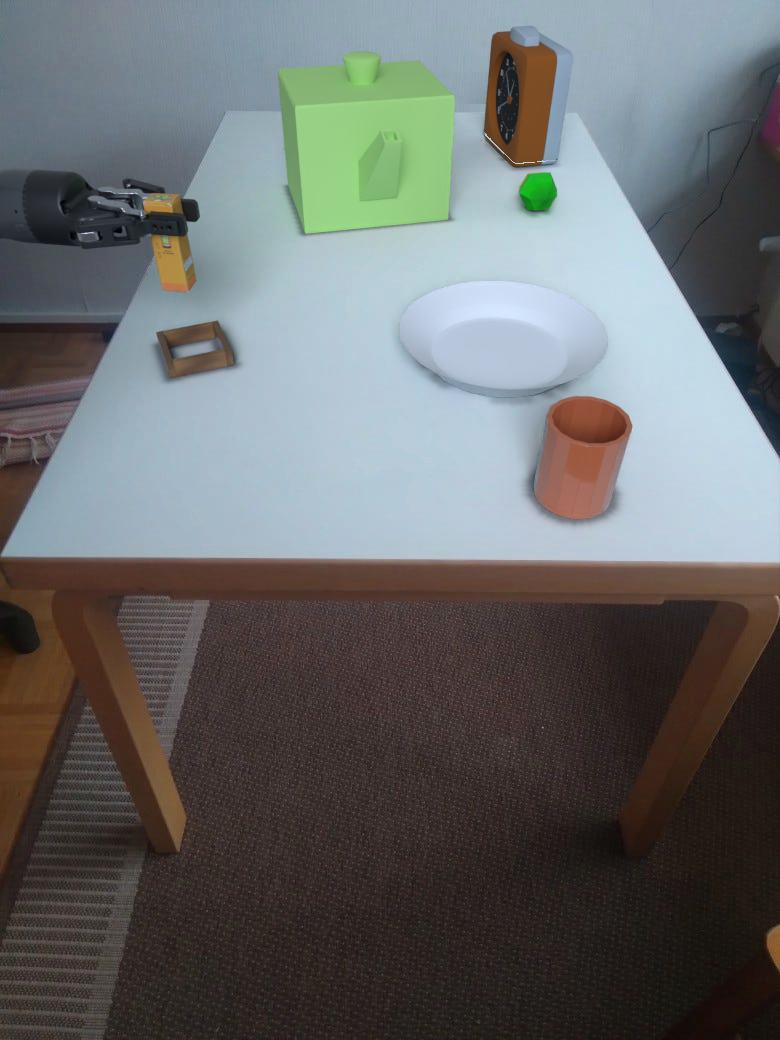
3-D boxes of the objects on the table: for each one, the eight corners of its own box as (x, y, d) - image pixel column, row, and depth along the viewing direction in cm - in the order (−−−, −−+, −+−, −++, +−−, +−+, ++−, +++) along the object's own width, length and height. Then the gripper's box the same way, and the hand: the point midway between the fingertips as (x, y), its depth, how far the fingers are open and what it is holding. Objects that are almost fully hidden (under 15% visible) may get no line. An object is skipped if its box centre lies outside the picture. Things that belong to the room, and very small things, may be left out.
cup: (558, 527, 70) (575, 454, 63) (519, 478, 75) (532, 406, 68) (626, 507, 72) (649, 434, 65) (583, 460, 77) (601, 388, 70)
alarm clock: (481, 137, 148) (491, 16, 134) (522, 134, 150) (536, 14, 135) (514, 170, 135) (529, 40, 121) (558, 166, 137) (578, 37, 122)
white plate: (593, 432, 80) (599, 405, 77) (374, 396, 85) (373, 369, 82) (608, 319, 97) (614, 294, 94) (425, 294, 102) (426, 270, 99)
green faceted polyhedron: (552, 169, 115) (529, 150, 121) (520, 199, 117) (500, 178, 123) (573, 201, 120) (550, 180, 126) (542, 229, 122) (521, 207, 128)
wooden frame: (170, 378, 87) (166, 364, 86) (159, 345, 92) (155, 331, 91) (234, 365, 89) (231, 350, 88) (220, 333, 94) (217, 320, 93)
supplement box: (199, 279, 85) (182, 192, 78) (189, 294, 83) (170, 205, 76) (171, 277, 86) (152, 190, 78) (160, 291, 83) (140, 203, 76)
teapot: (313, 257, 110) (301, 95, 95) (283, 173, 134) (270, 33, 119) (463, 241, 114) (475, 83, 98) (408, 162, 138) (410, 25, 123)
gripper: (-7, 196, 72) (160, 208, 71) (59, 149, 82) (207, 158, 81) (19, 269, 78) (176, 281, 76) (78, 216, 88) (217, 225, 86)
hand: (191, 217), depth 78 cm, fingers closed on supplement box, 3 cm apart
